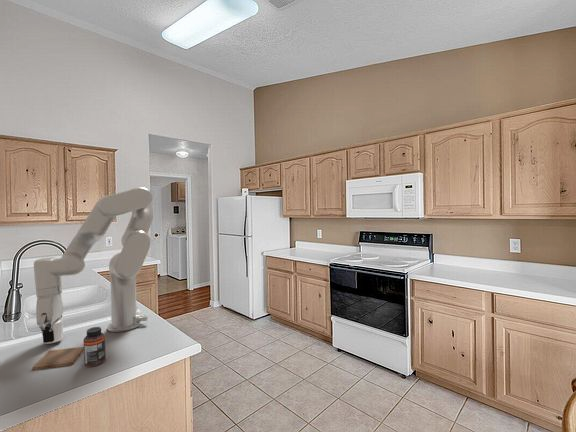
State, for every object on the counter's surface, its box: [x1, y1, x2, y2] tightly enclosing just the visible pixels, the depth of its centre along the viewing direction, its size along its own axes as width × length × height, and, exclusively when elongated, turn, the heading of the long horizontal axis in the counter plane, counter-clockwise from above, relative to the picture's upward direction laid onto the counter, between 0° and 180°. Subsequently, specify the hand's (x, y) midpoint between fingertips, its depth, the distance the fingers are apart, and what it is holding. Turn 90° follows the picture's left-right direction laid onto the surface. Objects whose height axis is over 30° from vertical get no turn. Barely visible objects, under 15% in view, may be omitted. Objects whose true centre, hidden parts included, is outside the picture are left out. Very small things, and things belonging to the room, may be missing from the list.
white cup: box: [40, 318, 64, 345], centre depth 112 cm, size 7×7×7 cm
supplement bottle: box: [82, 326, 106, 368], centre depth 98 cm, size 6×6×11 cm
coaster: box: [32, 346, 84, 371], centre depth 101 cm, size 11×11×1 cm
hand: (53, 337), depth 112 cm, fingers closed on white cup, 6 cm apart
